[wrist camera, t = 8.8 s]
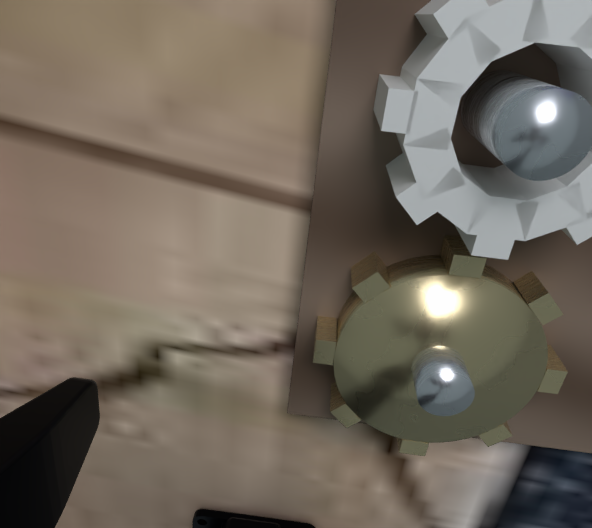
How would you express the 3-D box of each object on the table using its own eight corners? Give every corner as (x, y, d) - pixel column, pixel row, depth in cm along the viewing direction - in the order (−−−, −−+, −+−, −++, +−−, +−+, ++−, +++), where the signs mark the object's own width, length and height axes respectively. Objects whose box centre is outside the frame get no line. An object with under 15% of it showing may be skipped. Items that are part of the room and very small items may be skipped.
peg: (519, 144, 15) (576, 185, 11) (453, 136, 15) (489, 175, 11) (541, 74, 14) (611, 94, 10) (470, 66, 14) (515, 84, 10)
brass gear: (511, 439, 20) (536, 501, 17) (304, 411, 20) (299, 469, 18) (589, 252, 16) (637, 297, 14) (331, 221, 16) (329, 259, 14)
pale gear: (572, 230, 16) (619, 273, 13) (357, 203, 16) (361, 241, 13) (670, -18, 13) (759, -27, 10) (400, -48, 13) (416, -65, 10)
